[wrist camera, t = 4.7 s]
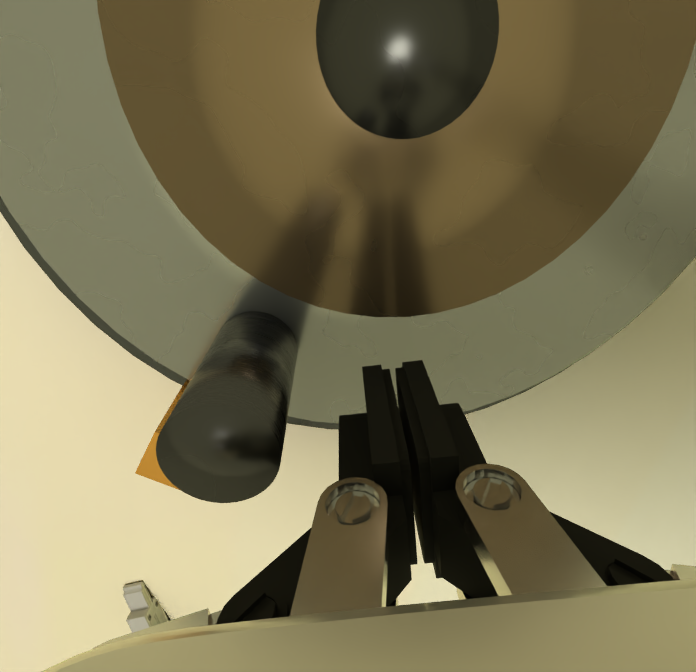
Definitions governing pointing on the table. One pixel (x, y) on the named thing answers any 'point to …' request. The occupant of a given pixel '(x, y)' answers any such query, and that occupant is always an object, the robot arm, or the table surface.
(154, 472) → the base
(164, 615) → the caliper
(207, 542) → the table surface
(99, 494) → the table surface
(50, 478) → the table surface
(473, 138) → the turntable
